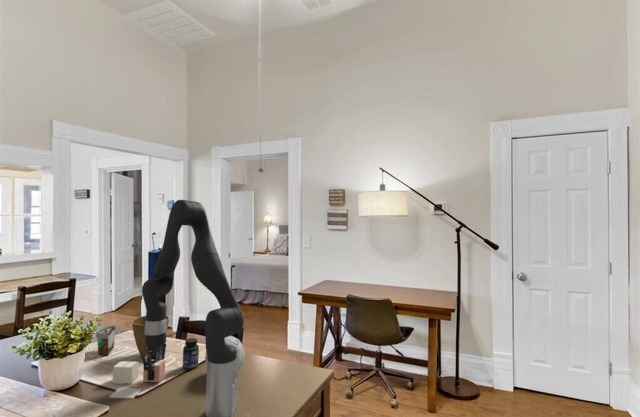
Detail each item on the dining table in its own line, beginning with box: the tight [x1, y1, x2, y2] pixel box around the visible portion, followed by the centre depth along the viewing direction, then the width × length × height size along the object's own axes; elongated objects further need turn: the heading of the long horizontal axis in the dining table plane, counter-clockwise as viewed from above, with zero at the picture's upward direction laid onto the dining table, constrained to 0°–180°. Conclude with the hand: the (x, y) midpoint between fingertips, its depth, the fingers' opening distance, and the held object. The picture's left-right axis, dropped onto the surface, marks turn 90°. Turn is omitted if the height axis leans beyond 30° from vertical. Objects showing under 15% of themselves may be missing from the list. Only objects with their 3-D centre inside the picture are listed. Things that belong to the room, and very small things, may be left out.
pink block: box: [142, 360, 166, 383], centre depth 130 cm, size 6×4×6 cm
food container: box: [95, 325, 116, 357], centre depth 155 cm, size 12×6×10 cm, turn 17°
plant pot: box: [131, 315, 170, 359], centre depth 153 cm, size 15×15×16 cm
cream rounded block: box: [112, 360, 140, 385], centre depth 130 cm, size 7×5×6 cm
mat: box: [108, 387, 142, 400], centre depth 120 cm, size 8×6×1 cm
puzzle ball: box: [205, 335, 246, 373], centre depth 137 cm, size 15×15×15 cm
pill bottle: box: [182, 337, 200, 371], centre depth 143 cm, size 6×6×11 cm
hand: (154, 376), depth 130 cm, fingers closed on pink block, 4 cm apart
